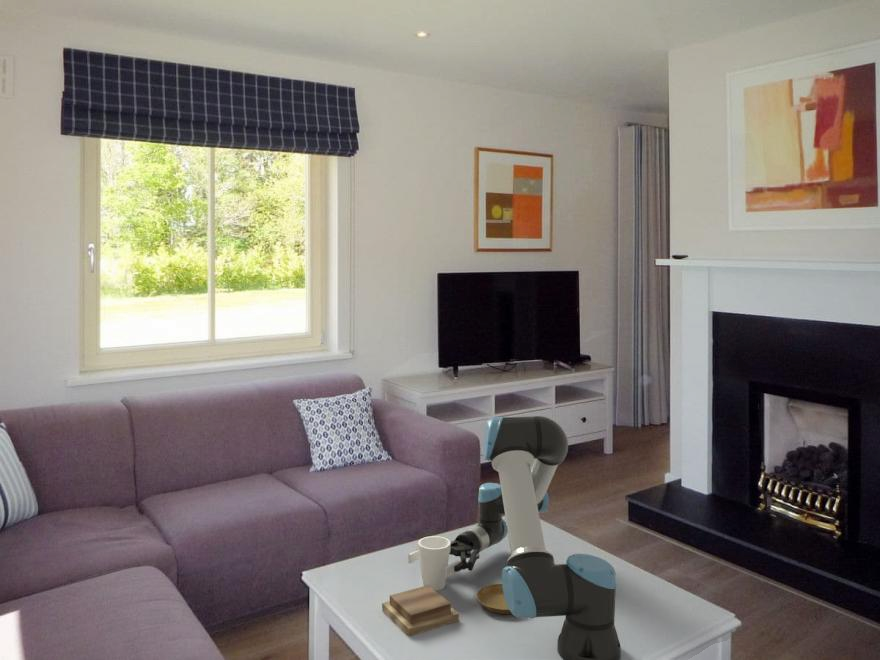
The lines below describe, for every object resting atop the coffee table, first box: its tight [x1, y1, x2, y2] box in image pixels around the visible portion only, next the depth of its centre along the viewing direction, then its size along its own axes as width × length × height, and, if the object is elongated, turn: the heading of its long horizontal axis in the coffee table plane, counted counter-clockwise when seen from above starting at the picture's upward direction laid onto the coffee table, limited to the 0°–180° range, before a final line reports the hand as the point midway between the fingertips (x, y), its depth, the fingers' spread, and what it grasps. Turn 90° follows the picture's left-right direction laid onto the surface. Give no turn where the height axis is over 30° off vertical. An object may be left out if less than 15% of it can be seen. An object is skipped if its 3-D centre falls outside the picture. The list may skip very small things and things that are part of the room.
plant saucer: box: [476, 583, 512, 615], centre depth 200 cm, size 15×15×3 cm
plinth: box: [381, 585, 460, 637], centre depth 194 cm, size 15×15×4 cm
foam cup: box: [417, 535, 451, 591], centre depth 210 cm, size 10×9×13 cm
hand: (427, 565), depth 208 cm, fingers open, 13 cm apart
